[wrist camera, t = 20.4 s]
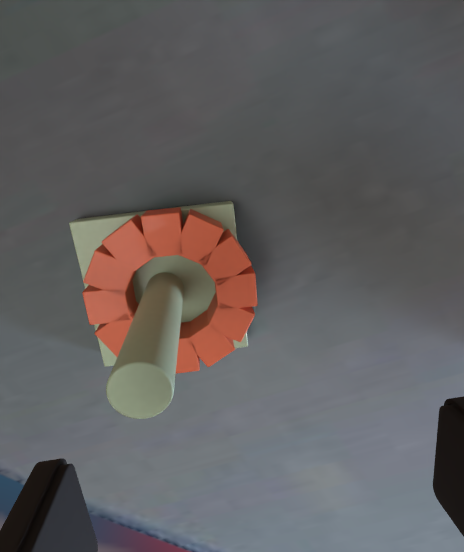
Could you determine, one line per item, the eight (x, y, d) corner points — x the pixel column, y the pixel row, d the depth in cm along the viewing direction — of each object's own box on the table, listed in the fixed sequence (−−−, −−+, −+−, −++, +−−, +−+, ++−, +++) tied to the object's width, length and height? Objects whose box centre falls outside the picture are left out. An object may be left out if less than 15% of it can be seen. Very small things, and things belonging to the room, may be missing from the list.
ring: (79, 216, 22) (66, 223, 19) (245, 200, 22) (250, 205, 20) (111, 362, 25) (102, 383, 22) (255, 345, 25) (261, 363, 23)
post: (76, 218, 23) (-52, 279, 11) (231, 200, 24) (265, 239, 12) (109, 355, 26) (36, 517, 14) (245, 336, 27) (284, 477, 15)
